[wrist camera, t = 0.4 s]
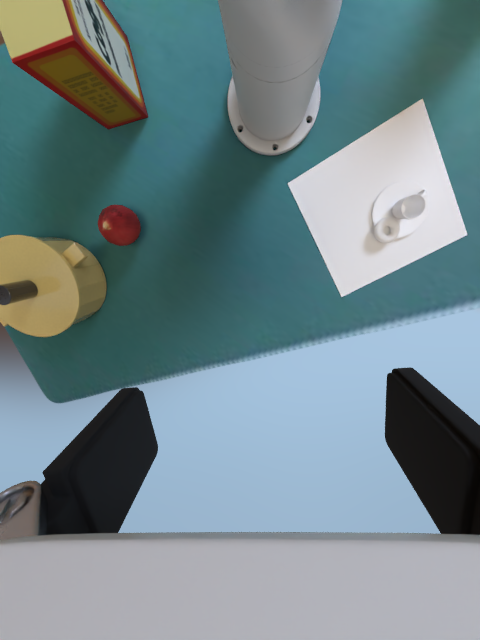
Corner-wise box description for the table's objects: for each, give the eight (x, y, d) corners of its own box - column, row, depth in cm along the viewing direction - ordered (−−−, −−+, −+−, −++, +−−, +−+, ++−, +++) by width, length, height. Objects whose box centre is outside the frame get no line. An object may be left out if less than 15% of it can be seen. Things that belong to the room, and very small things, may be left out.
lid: (-32, 274, 41) (-77, 280, 35) (30, 212, 37) (-10, 207, 31) (40, 351, 44) (9, 366, 38) (104, 301, 40) (79, 310, 35)
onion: (108, 216, 43) (75, 212, 35) (137, 201, 42) (109, 193, 34) (126, 250, 44) (97, 252, 37) (154, 236, 43) (131, 235, 36)
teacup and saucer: (377, 250, 41) (389, 251, 37) (357, 203, 39) (367, 199, 35) (434, 220, 39) (453, 218, 35) (416, 169, 37) (434, 161, 33)
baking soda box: (148, 117, 38) (71, 36, 23) (108, 129, 39) (8, 59, 24) (127, 36, 35) (24, -115, 20) (84, 52, 36) (-44, -82, 21)
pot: (4, 278, 48) (-41, 285, 41) (76, 210, 43) (39, 205, 36) (60, 339, 51) (27, 356, 44) (133, 283, 46) (109, 291, 39)
